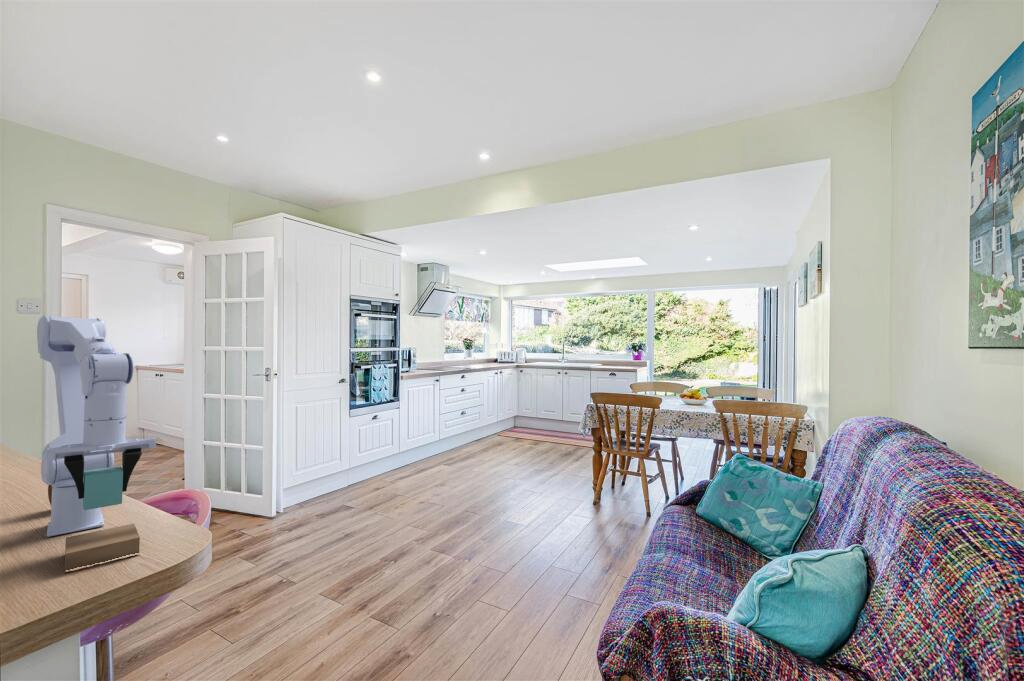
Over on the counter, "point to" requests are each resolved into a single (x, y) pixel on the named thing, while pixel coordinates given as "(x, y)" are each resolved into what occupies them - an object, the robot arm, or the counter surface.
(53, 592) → the counter surface
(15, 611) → the counter surface
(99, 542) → the walnut plinth
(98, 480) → the teal block
